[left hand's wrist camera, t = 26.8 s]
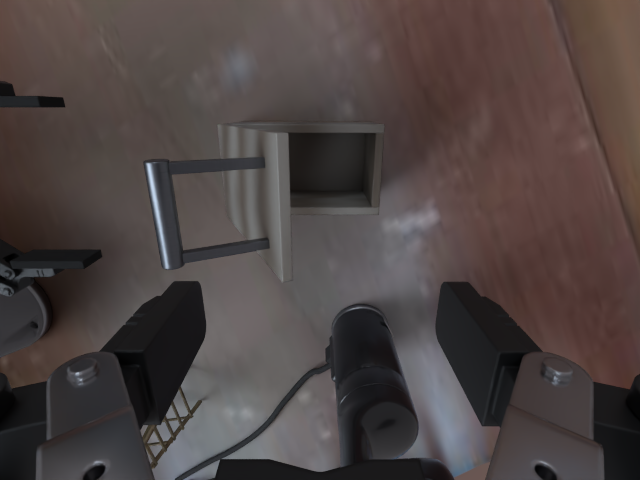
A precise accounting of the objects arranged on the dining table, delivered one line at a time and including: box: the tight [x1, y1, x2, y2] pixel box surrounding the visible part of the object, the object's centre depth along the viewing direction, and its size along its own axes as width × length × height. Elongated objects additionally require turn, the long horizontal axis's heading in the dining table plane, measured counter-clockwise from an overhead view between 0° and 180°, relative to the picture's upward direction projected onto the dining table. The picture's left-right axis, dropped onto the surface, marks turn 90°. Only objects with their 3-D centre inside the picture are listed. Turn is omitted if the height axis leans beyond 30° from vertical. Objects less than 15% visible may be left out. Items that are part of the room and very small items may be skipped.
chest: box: [227, 121, 385, 215], centre depth 42 cm, size 17×10×10 cm, turn 90°
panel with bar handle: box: [143, 124, 293, 282], centre depth 28 cm, size 18×10×8 cm
